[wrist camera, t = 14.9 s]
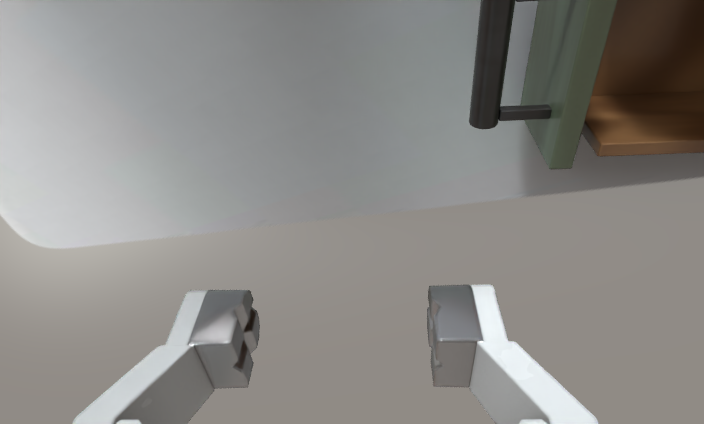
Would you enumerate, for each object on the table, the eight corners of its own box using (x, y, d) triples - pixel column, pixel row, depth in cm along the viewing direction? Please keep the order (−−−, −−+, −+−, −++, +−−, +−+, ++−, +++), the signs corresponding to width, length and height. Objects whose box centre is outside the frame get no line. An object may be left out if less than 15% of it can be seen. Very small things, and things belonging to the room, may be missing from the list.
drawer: (453, 114, 31) (470, 173, 25) (469, -88, 24) (496, -64, 18) (737, 101, 29) (815, 160, 24) (843, -116, 22) (986, -99, 17)
